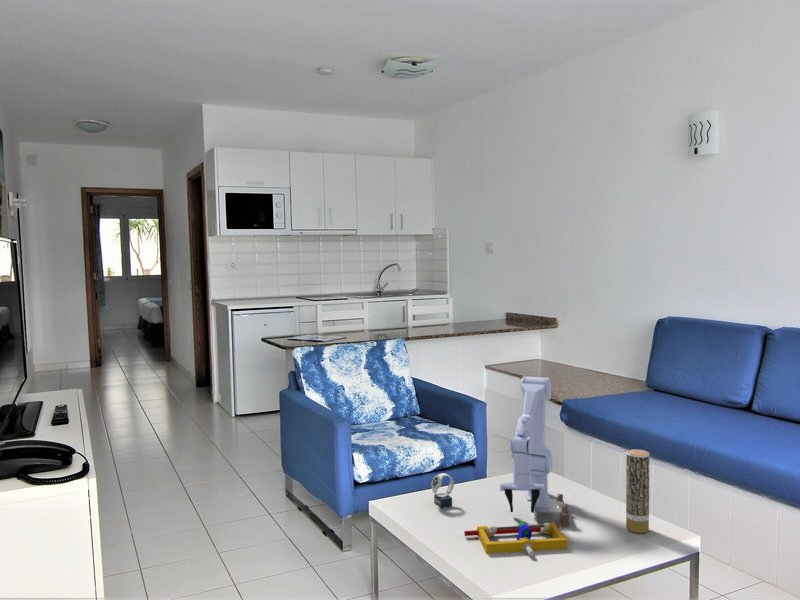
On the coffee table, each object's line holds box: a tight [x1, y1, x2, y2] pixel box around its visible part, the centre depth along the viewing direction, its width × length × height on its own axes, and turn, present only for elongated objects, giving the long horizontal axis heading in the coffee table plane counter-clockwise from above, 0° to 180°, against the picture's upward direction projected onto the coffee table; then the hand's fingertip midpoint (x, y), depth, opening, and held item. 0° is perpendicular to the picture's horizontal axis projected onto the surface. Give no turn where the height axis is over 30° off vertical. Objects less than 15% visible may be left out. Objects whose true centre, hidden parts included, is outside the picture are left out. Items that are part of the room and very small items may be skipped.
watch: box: [430, 472, 455, 509], centre depth 238 cm, size 6×8×11 cm
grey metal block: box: [533, 498, 562, 525], centre depth 226 cm, size 12×8×4 cm, turn 176°
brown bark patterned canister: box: [625, 448, 650, 534], centre depth 213 cm, size 7×7×25 cm
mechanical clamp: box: [464, 521, 569, 557], centre depth 204 cm, size 18×6×30 cm
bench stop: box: [555, 493, 570, 528], centre depth 224 cm, size 15×2×6 cm, turn 175°
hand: (522, 511), depth 226 cm, fingers open, 6 cm apart
